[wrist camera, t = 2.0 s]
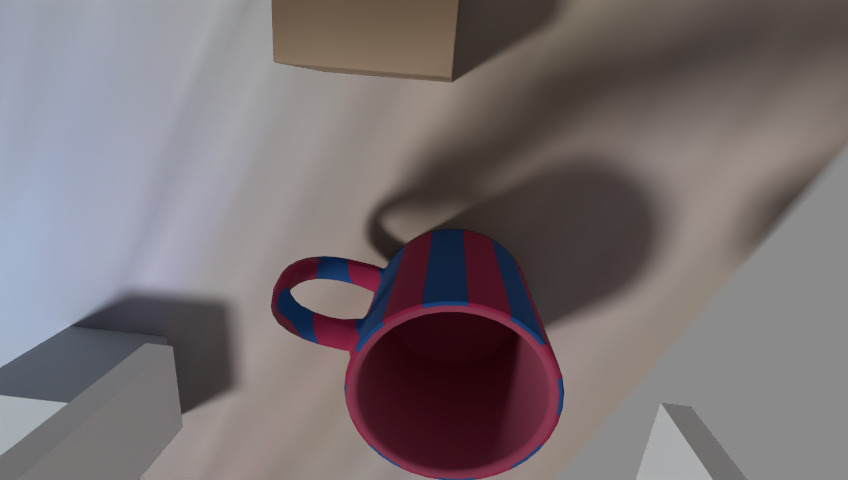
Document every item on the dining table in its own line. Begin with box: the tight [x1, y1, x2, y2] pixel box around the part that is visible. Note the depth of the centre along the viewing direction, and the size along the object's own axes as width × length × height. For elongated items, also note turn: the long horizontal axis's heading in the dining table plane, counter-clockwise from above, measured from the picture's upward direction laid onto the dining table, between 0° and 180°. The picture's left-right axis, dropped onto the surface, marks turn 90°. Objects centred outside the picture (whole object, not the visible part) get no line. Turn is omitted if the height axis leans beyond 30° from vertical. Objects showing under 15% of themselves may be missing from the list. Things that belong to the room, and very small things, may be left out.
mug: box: [271, 229, 564, 480], centre depth 16 cm, size 7×10×7 cm
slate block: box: [0, 326, 168, 456], centre depth 20 cm, size 5×5×5 cm
